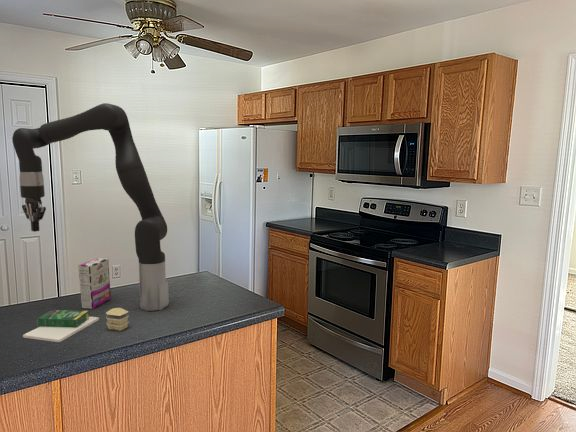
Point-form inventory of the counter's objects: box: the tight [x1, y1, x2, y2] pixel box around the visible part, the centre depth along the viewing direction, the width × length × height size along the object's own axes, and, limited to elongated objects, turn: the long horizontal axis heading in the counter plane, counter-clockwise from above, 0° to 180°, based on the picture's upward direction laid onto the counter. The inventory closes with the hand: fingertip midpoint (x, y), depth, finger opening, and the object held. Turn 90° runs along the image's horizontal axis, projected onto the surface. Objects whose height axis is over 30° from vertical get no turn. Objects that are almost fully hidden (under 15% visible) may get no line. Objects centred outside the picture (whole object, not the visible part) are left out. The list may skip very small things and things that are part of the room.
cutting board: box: [22, 315, 100, 343], centre depth 136 cm, size 13×18×1 cm
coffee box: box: [36, 309, 90, 327], centre depth 139 cm, size 8×3×13 cm
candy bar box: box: [78, 257, 112, 310], centre depth 157 cm, size 11×5×16 cm, turn 168°
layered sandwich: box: [105, 307, 130, 332], centre depth 138 cm, size 10×9×6 cm
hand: (35, 231), depth 157 cm, fingers closed
